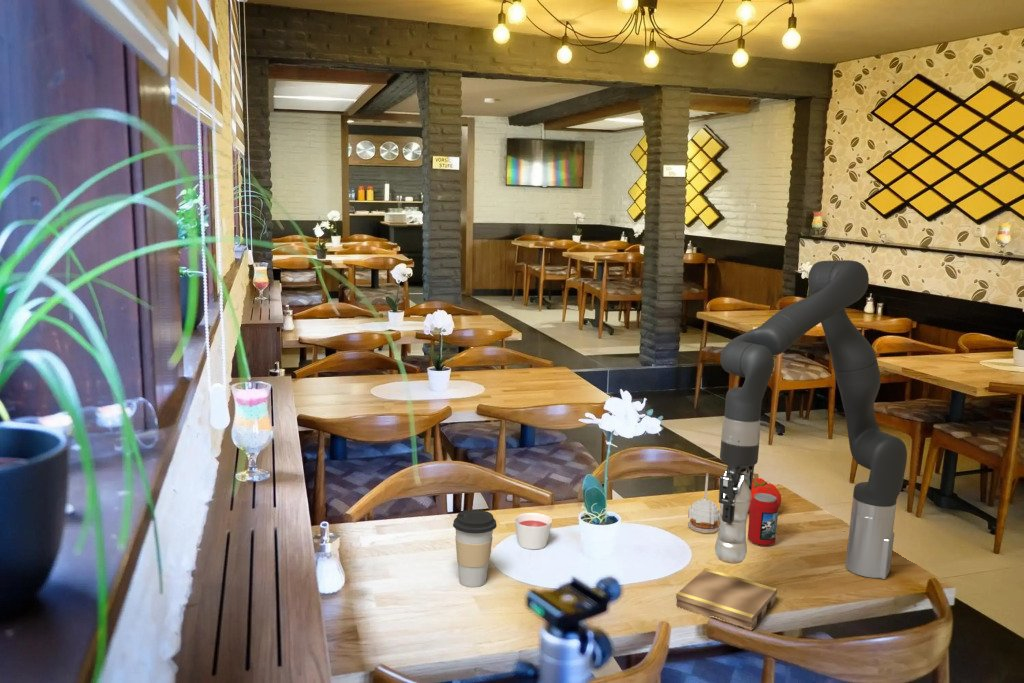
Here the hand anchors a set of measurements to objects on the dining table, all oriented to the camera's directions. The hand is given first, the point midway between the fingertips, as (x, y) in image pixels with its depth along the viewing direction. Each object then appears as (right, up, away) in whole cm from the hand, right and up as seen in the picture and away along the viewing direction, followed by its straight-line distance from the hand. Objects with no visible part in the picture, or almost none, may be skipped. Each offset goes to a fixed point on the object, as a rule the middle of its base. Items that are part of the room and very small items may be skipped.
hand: (733, 516), depth 171 cm
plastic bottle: (0, -10, +2) cm, 10 cm away
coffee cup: (-54, -16, +10) cm, 58 cm away
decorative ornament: (+4, -13, +44) cm, 46 cm away
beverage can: (+17, -14, +37) cm, 43 cm away
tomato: (+22, -11, +58) cm, 63 cm away
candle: (-41, -13, +31) cm, 53 cm away
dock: (-1, -19, +3) cm, 19 cm away
